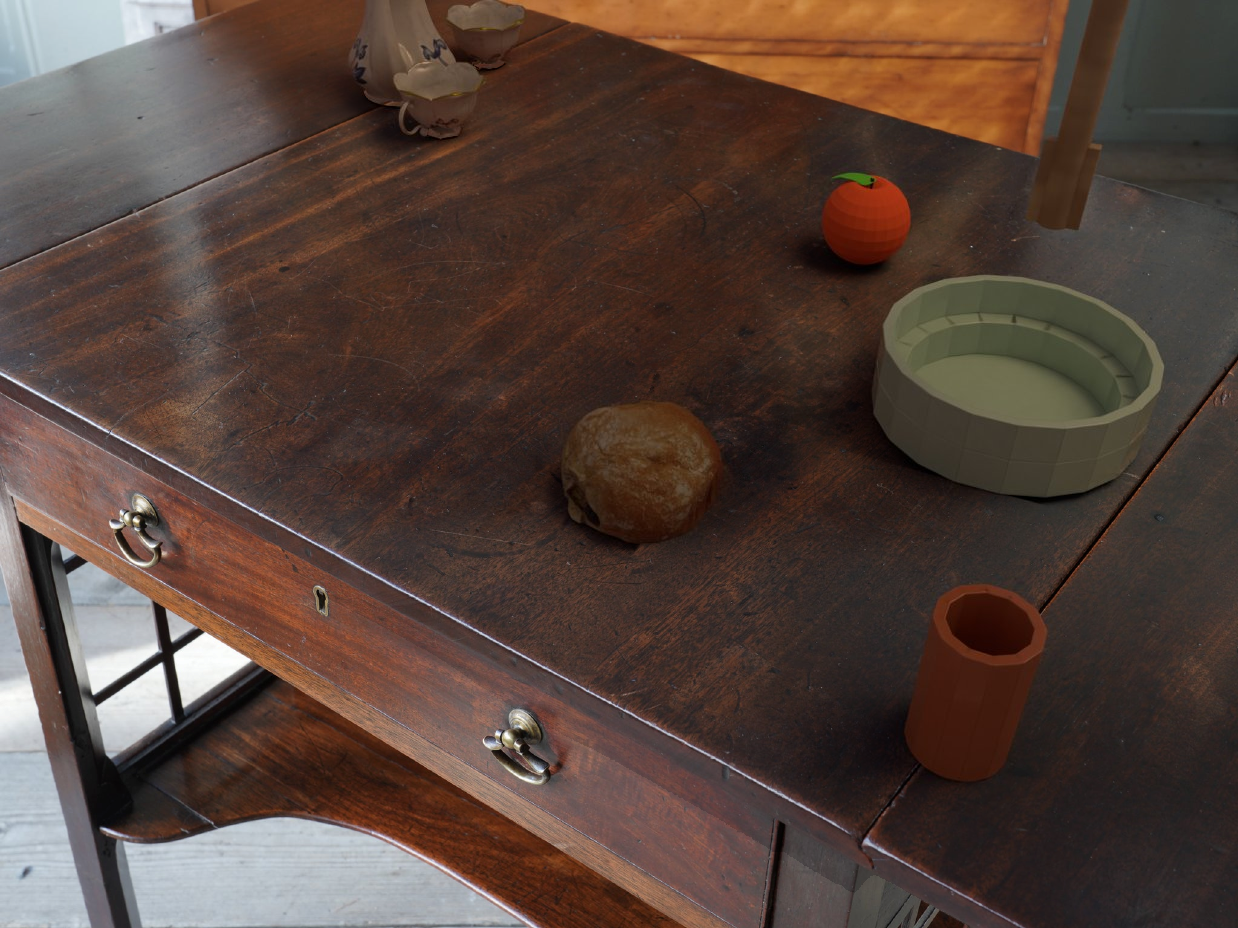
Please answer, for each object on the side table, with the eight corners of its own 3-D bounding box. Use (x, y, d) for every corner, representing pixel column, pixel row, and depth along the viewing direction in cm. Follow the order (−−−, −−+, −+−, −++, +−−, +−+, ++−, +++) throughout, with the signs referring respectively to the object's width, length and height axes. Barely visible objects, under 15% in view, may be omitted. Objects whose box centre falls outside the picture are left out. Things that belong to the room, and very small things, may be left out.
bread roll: (551, 523, 79) (507, 461, 73) (646, 405, 82) (612, 336, 75) (667, 597, 74) (631, 538, 67) (765, 469, 76) (739, 401, 70)
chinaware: (488, 172, 114) (497, -8, 103) (311, 147, 113) (301, -36, 103) (528, 59, 135) (538, -100, 125) (379, 38, 135) (376, -122, 124)
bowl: (1149, 382, 86) (1175, 309, 82) (1119, 535, 73) (1148, 457, 70) (905, 325, 91) (919, 254, 87) (840, 458, 79) (851, 383, 75)
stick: (1081, 221, 71) (1186, -155, 58) (1076, 235, 70) (1183, -147, 57) (1028, 210, 72) (1121, -162, 59) (1023, 224, 70) (1117, -154, 58)
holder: (1013, 726, 62) (1054, 603, 56) (994, 802, 59) (1036, 679, 53) (916, 694, 64) (947, 571, 58) (892, 767, 60) (922, 643, 54)
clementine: (789, 255, 99) (798, 175, 94) (837, 225, 103) (848, 146, 98) (873, 290, 95) (886, 208, 90) (919, 257, 99) (934, 176, 94)
